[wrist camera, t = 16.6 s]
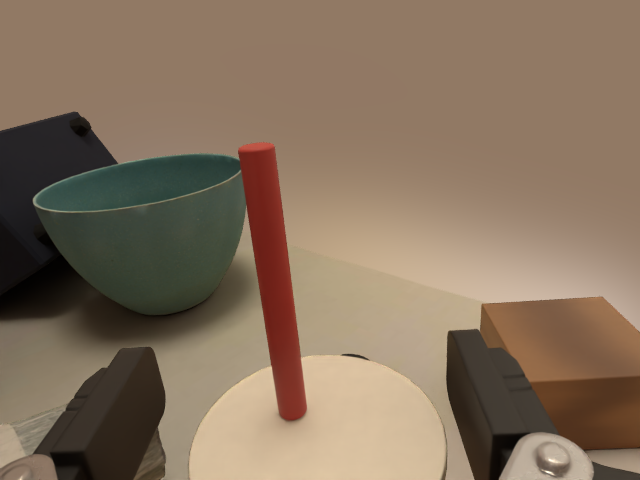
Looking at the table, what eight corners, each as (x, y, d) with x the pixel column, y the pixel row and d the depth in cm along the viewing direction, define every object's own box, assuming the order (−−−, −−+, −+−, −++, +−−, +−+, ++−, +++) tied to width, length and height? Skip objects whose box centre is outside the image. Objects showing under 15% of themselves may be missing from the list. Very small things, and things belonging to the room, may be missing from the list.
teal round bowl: (129, 377, 35) (83, 227, 31) (46, 305, 47) (4, 189, 43) (299, 282, 47) (285, 163, 43) (198, 244, 59) (179, 147, 54)
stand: (518, 453, 26) (525, 382, 24) (477, 363, 34) (481, 303, 32) (665, 446, 26) (685, 373, 24) (592, 357, 33) (602, 296, 31)
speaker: (151, 188, 62) (72, 241, 66) (85, 103, 58) (5, 165, 62) (56, 259, 42) (-50, 328, 46) (-54, 137, 39) (-158, 224, 43)
